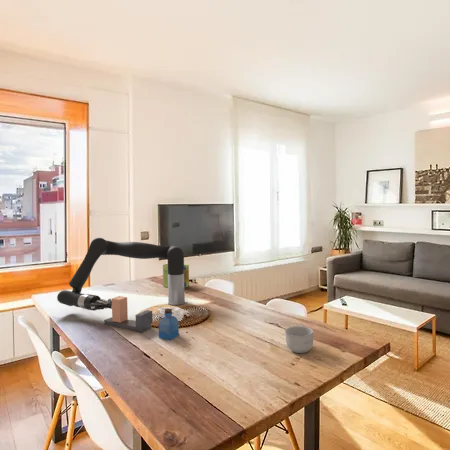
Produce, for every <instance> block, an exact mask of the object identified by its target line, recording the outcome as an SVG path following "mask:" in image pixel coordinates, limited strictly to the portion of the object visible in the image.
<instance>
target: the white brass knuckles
mask: <svg viewBox="0 0 450 450" xmlns="http://www.w3.org/2000/svg"><path fill="white" fill-rule="evenodd" d="M165 309H172V316H175V317H176V319H177V320H178V321H181V320H182V321H183V319H184V318H183V317H185V316H184V314H186V313H187V314H189V315H192V313H191V312H189V311H187V310H186V309H182V308H180V307H178V306H173V307H166V306H165V307H160V308H158V309H157V317H159V318H160V317H161V318H163V317H165V315H164V312H165ZM158 314H159V315H158ZM161 318H160V319H161ZM182 318H183V319H182ZM182 321H181V322H182Z"/></svg>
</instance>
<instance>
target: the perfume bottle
mask: <svg viewBox="0 0 450 450" xmlns="http://www.w3.org/2000/svg"><path fill="white" fill-rule="evenodd" d="M164 315H165V317H163V318H162V319H161V318H160V321H159V322H158V338H159V339H163V340H168V341H172V340H173V339H176V338H177V337H178V336H179V334H180V333H179V331H180V330H179V329H180V328H179V327H180V326H179V322H178V320H177V319H176V317H175V316H172V309H165V312H164Z"/></svg>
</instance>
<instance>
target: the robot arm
mask: <svg viewBox="0 0 450 450" xmlns="http://www.w3.org/2000/svg"><path fill="white" fill-rule="evenodd" d="M107 255H108V256H121V257H125V258H130V259H138V260H139V259H140V260H143V259H144V260H145V259H147V260H148V259H164V260H167V264H168V287H167V289H168V290H167V293H168V302H167V303H168V304H169V305H170V306H171V305H172V306H179V304H180V305H182V304H183V305H184V303H186V299H185V298H186V297H185V295H186V294H185V289H186V288H184V264H185V254H184V250H183V248H182V247H180V246H179V245H158V244H154V243H153V244H152V243H149V242H148V243H147V242H139V241H123V242H121V241H120V242H117V241H111V240H106V239H105V238H103V237H95V238H94V239H93V240H91V242H90V244H89V247H88V249H87V252H86V254H85V256H84V257H83V258H84V259H83V260H82V262H81V263H80V265H79V267H78V268H77V269H76V271H75V273H74V274H73V276H72V277H71V279H70V281H69V284H68V285H69V286H70V288H72V291H71V290H67V289H64V290H61V291H59V292H58V293H57V297H56V298H57V302H58V303H60V304H62V305H65V306H68V307H76V308H81V309H83V310H87V311H92V312H93V311H97V310H98V311H99V310H104V309H105V310H106V309H111V306H112V298H108V299H107V300H106V299H103V298H101V297H100V296H99V295H96V294H89V293H82V289H83V287H84V286H85V284H86V282H87V281H88V279H89V276H90V274H91V272H92V270H93V268H94V266H95V264H96V262H97V261H98V259H99V258H100V257H101V256H107ZM111 310H112V309H111Z"/></svg>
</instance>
